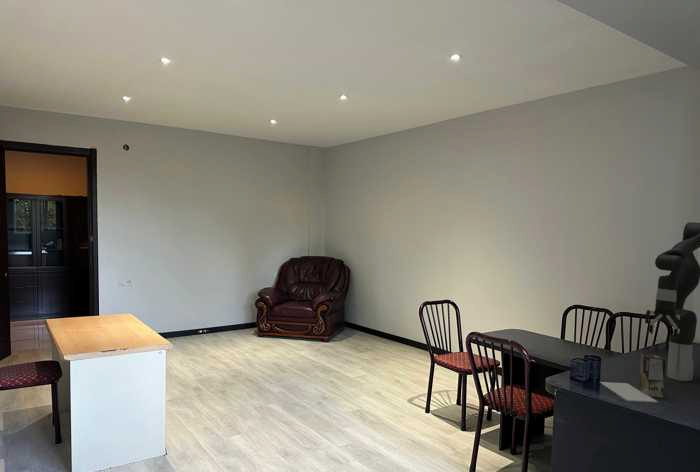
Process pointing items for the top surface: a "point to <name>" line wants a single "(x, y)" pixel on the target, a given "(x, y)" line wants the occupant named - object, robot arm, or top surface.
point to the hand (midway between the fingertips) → (662, 335)
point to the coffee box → (652, 375)
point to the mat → (628, 392)
